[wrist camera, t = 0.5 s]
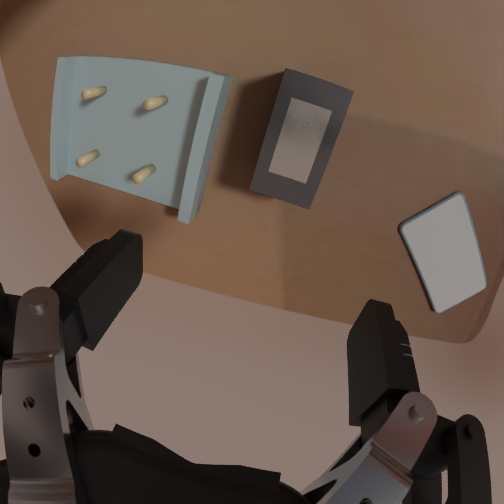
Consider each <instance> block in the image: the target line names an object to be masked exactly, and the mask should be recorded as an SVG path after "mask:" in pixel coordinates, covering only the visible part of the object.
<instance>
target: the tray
mask: <svg viewBox="0 0 504 504" xmlns="http://www.w3.org/2000/svg"><path fill="white" fill-rule="evenodd" d="M233 77H234V76H230V75H226V74H221V73H217V72H213V71H208V70H203V69H198V68H193V67H188V66H182V65H176V64H170V63H163V62H156V61H149V60H140V59H131V58H120V57H105V56H66V57H58V62H57V68H56V76H55V83H54V92H53V103H52V116H51V138H50V172H51V179H54V180H57V181H58V180H59V179H61V178H62V177H64V176H66V175H67V174H69V175H73V176H76V177H79V178H82V179H86V180H89V181H92V182H95V183H98V184H102V185H105V186H108V187H111V188H114V189H117V190H121V191H124V192H127V193H130V194H133V195H136V196H139V197H142V198H146V199H149V200H152V201H155V202H158V203H161V204H164V205H167V206H170V207H173V208H176V209H179V213H178V219H177V220H178V221H181V222H184V223H187V224H189V223H190V222H191V220H192V219H193V218H194V216H195V215H196V213H197V212H198V211H199V208H200V204H201V200H202V195H203V191H204V187H205V182H206V178H207V174H208V170H209V166H210V162H211V158H212V154H213V150H214V146H215V142H216V138H217V134H218V130H219V127H220V123H221V119H222V116H223V112H224V108H225V105H226V101H227V98H228V94H229V91H230V88H231V84H232V81H233Z"/></svg>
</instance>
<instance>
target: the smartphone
mask: <svg viewBox="0 0 504 504" xmlns="http://www.w3.org/2000/svg"><path fill="white" fill-rule="evenodd" d="M399 231H400V233H401V235H402V237H403V239H404V241H405V243H406V245H407V248H408V250H409V252H410V254H411V256H412V259H413V261H414V263H415V265H416V268H417V270H418V272H419V274H420V277H421V279H422V282H423V284H424V286H425V289H426V291H427V294H428V297H429V299H430V302H431V304H432V307H433V309H434V312H435V313H442V312H444V311H445V310H447V309H449V308H451V307H453V306H455V305H457V304H459V303H461V302H462V301H464V300H466V299H468V298H470V297H472V296H473V295H475V294H477V293H479V292H480V291H482V290H484V289H485V287H486V285H487V281H486V276H485V271H484V266H483V261H482V257H481V253H480V248H479V244H478V240H477V237H476V233H475V229H474V226H473V222H472V219H471V215H470V212H469V209H468V206H467V203H466V200H465V197H464V195H463V193H462V192H460V191H456V192H454V193H452V194H450V195H449V196H447V197H445V199H443V200H441V201H438V202H437V203H435V204H434V205H432V206H431V207H429V208H427V209H424V210H423V211H421V212H420V213H418V214H416V215H414V216H412V217H410V218H408V219H406V220H405V221H403V222H402V223H401V224H400V226H399Z"/></svg>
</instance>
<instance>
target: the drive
mask: <svg viewBox="0 0 504 504" xmlns="http://www.w3.org/2000/svg"><path fill="white" fill-rule="evenodd" d="M353 93H354V91H351V90H349V89H346V88H344V87H341V86H338V85H336V84H333V83H330V82H327V81H325V80H322V79H319V78H316V77H313V76H310V75H307V74H304V73H301V72H297V71H294V70H291V69H287V68H286V69H285V72H284V75H283V78H282V82H281V85H280V88H279V91H278V95H277V98H276V101H275V104H274V108H273V111H272V114H271V118H270V121H269V124H268V128H267V131H266V134H265V138H264V141H263V144H262V148H261V151H260V155H259V158H258V161H257V165H256V168H255V172H254V175H253V179H252V182H251V185H250V189H249V190H251V191H254V192H258V193H261V194H264V195H267V196H270V197H273V198H276V199H279V200H282V201H286V202H289V203H292V204H295V205H298V206H301V207H303V208H306V209H310V206H311V204H312V201H313V199H314V196H315V194H316V191H317V189H318V186H319V184H320V181H321V178H322V176H323V173H324V171H325V168H326V166H327V163H328V160H329V158H330V155H331V152H332V150H333V147H334V145H335V142H336V139H337V137H338V134H339V131H340V128H341V126H342V123H343V120H344V118H345V115H346V112H347V109H348V107H349V104H350V101H351V98H352V95H353Z"/></svg>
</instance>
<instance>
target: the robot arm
mask: <svg viewBox="0 0 504 504" xmlns="http://www.w3.org/2000/svg"><path fill="white" fill-rule="evenodd" d="M142 273H143V241H142V236H141V235H140V234H136V233H133V232H130V231H126V230H123V229H121V230H119V231H118V232H117V233H116V234H115V235H113V236H112V237H111V238H110V239H109V240H107V239H104V240H102V241H100V242H98V243H96V244H94V245H92V246H91V247H90V248H89V249H88V250H87V251H86V252H85V253H84V255H82V256H81V257H79V258H78V259H77V261H76V262H74V263H73V264H72V265H71V266H70V267H69V268H68V269H67V270H66V271H65V272H64V273H63V274H62V275H61V276H60V277H59V278H58V279H57V280H56V281H55V282H54V283H53V284H52V285H51V287H36V288H32V289H30V290H29V291H27V292H26V293H24V294H23V295H22V296H18V295H11V294H5V292H4V289H3V287H2V284H1V283H0V395H1V393H2V415H3V431H4V442H5V450H6V459H4V460H1V461H0V504H400V503H401V502H402V504H442V480H441V479H442V477H441V472H443V471H445V470H448V498H447V501H446V503H445V504H492V497H491V480H490V468H489V459H488V451H487V444H486V438H485V432H484V428H483V426H482V424H481V422H480V421H479V420H478V419H477V418H476V417H475V416H473V415H469V414H466V415H463V416H461V417H460V418H459V419H457V420H456V421H455V422H454V421H451V420H449V419H446V418H444V417H442V416H439V415H437V411H436V408H435V406H434V404H433V402H432V401H431V400H430V399H429V398H428V397H427V396H426V395H424V394H422V393H420V388H419V383H418V378H417V373H416V369H415V364H414V360H413V357H412V351H411V348H410V347H409V346H410V343H409V339H408V335H407V332H406V331H405V329H404V327H403V326H402V324H401V323H400V321H397V320H395V317H394V313H393V309H392V306H391V304H389V303H385V302H381V301H377V300H373V299H370V300H369V301H368V302H367V303H366V305H365V306H364V308H363V310H362V312H361V313H360V315H359V317H358V318H357V320H356V322H355V323H354V325H353V327H352V328H351V330H350V332H349V335H348V339H347V359H348V383H349V425H352V426H360V427H361V434H359V435H358V436H357V437H356V438H355V440H354V441H353V442H352V443H351V444H350V445H349V446H348V448H347V449H346V450H345V451H344V452H343V453H342V454H341V455H340V457H339V458H338V459H337V460H336V461H335V462H334V463H333V464H332V465H331V466H330V467H329V468H328V469H327V470H326V472H324V473H323V474H322V475H321V476H320V477H319V478H317V479H316V480H315V481H313V482H312V483H311V484H310V485H308V486H307V487H306V488H305V489H304V490H303V491H302V492H301V493H300V492H298V491H297V490H295V489H294V488H292V487H291V486H289V485H287V484H285V483H283V482H281V481H280V475H281V473H279V472H273V471H267V470H261V469H256V468H250V467H246V466H241V465H209V464H195V463H192V462H190V461H188V460H186V459H184V458H183V457H181V456H179V455H178V454H176V453H174V452H173V451H171V450H169V449H168V448H166V447H165V446H163V445H162V444H160V443H159V442H157V441H155V440H154V439H151V438H149V437H146V436H144V435H141V434H139V433H136V432H134V431H132V430H129V429H127V428H125V427H122V426H120V425H118V424H116V425H115V427H114V429H113V431H106V430H94V429H93V425H92V421H91V419H90V415H89V413H88V410H87V407H86V404H85V398H84V393H83V387H82V380H81V373H80V365H79V357H78V353H77V352H78V351H79V349H80V348H81V346H83V347H85V348H88V349H90V350H92V351H93V350H94V348H95V347H96V345H97V344H98V342H99V341H100V339H101V338H102V336H103V335H104V333H105V332H106V331H107V329H108V328H109V326H110V325H111V323H112V322H113V321H114V319H115V318H116V316H117V315H118V313H119V312H120V311H121V309H122V308H123V306H124V305H125V304H126V302H127V301H128V299H129V298H130V297H131V295H132V294H133V292H134V291H135V290H136V288H137V287H138V285H139V283H140V281H141V278H142Z"/></svg>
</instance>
